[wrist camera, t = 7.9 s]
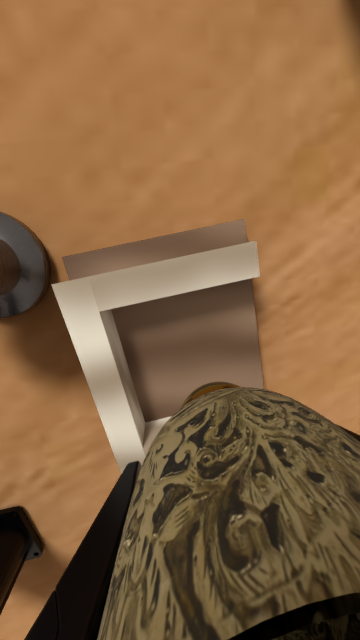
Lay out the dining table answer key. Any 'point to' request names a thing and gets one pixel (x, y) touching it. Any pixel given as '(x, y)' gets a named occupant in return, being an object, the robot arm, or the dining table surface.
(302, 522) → the cup
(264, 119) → the dining table surface
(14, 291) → the bobbin
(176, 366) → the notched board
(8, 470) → the dining table surface
